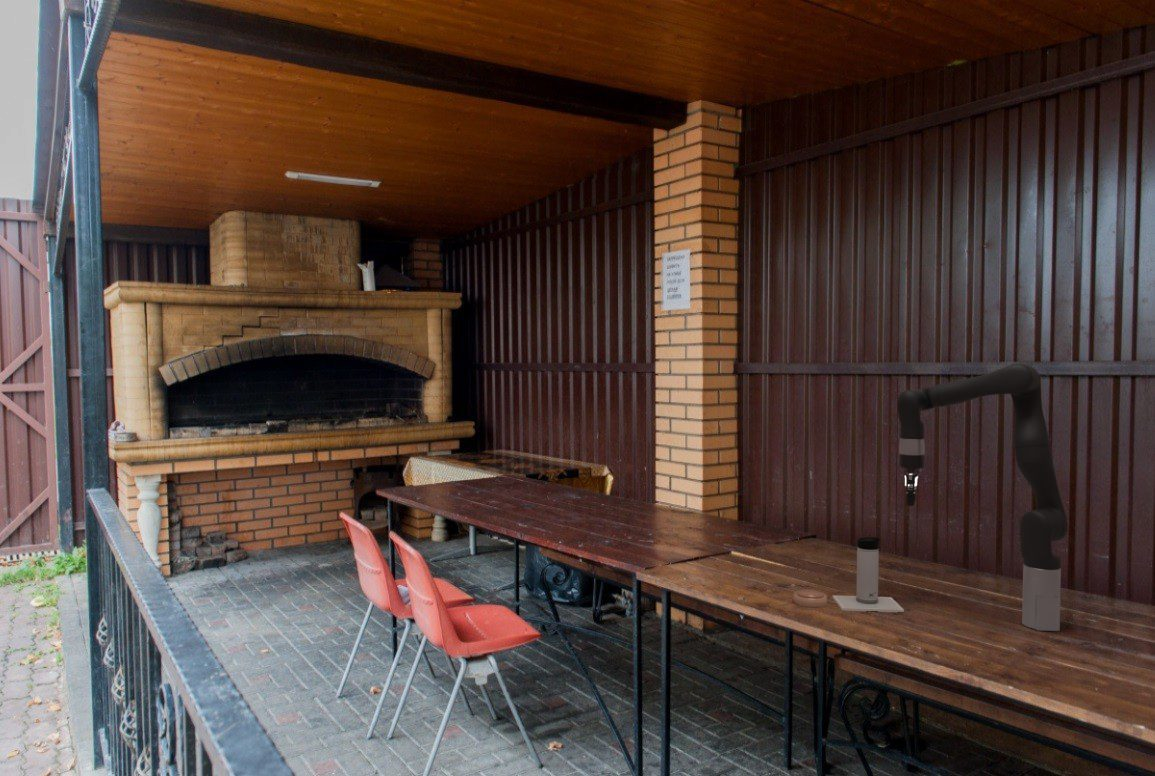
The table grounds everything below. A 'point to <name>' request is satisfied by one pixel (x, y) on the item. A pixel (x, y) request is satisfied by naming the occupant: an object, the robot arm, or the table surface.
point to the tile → (853, 605)
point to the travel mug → (867, 570)
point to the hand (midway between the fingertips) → (911, 503)
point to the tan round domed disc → (810, 598)
